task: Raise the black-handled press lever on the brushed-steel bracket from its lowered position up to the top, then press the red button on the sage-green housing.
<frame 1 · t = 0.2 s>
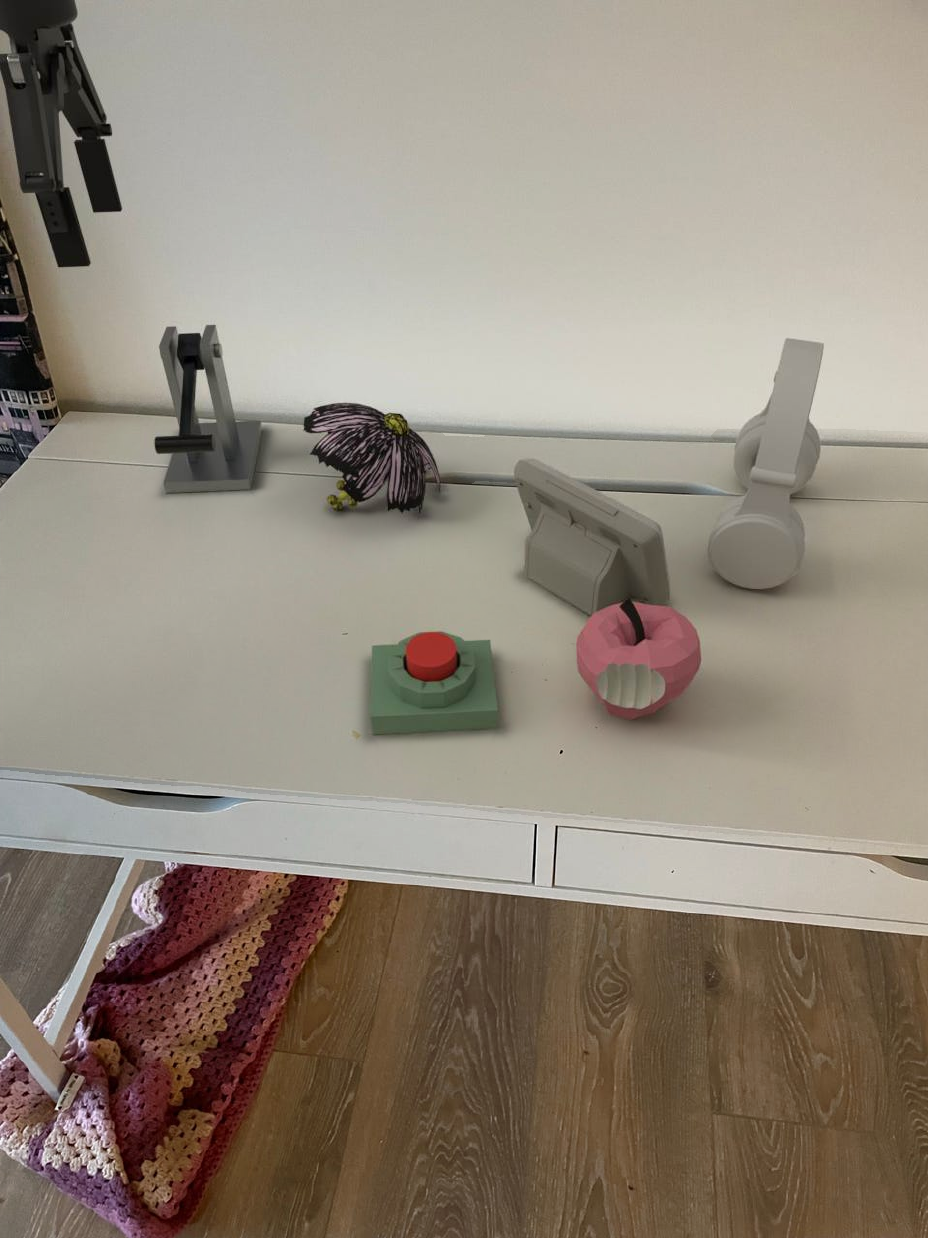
hand: (92, 236, 89), 24 cm above the table, tool pointing down, fingers open, 13 cm apart
button box: (433, 694, 78), on the table
button: (431, 656, 75), point 4 cm above the table, slide at 0.1 cm
digital clock: (587, 579, 89), on the table
decorative flower: (377, 501, 98), on the table
lever: (188, 394, 93), point 11 cm above the table, hinge at -25.0°
apple: (629, 704, 77), on the table
bracket: (216, 460, 104), on the table
headphones: (757, 531, 93), on the table
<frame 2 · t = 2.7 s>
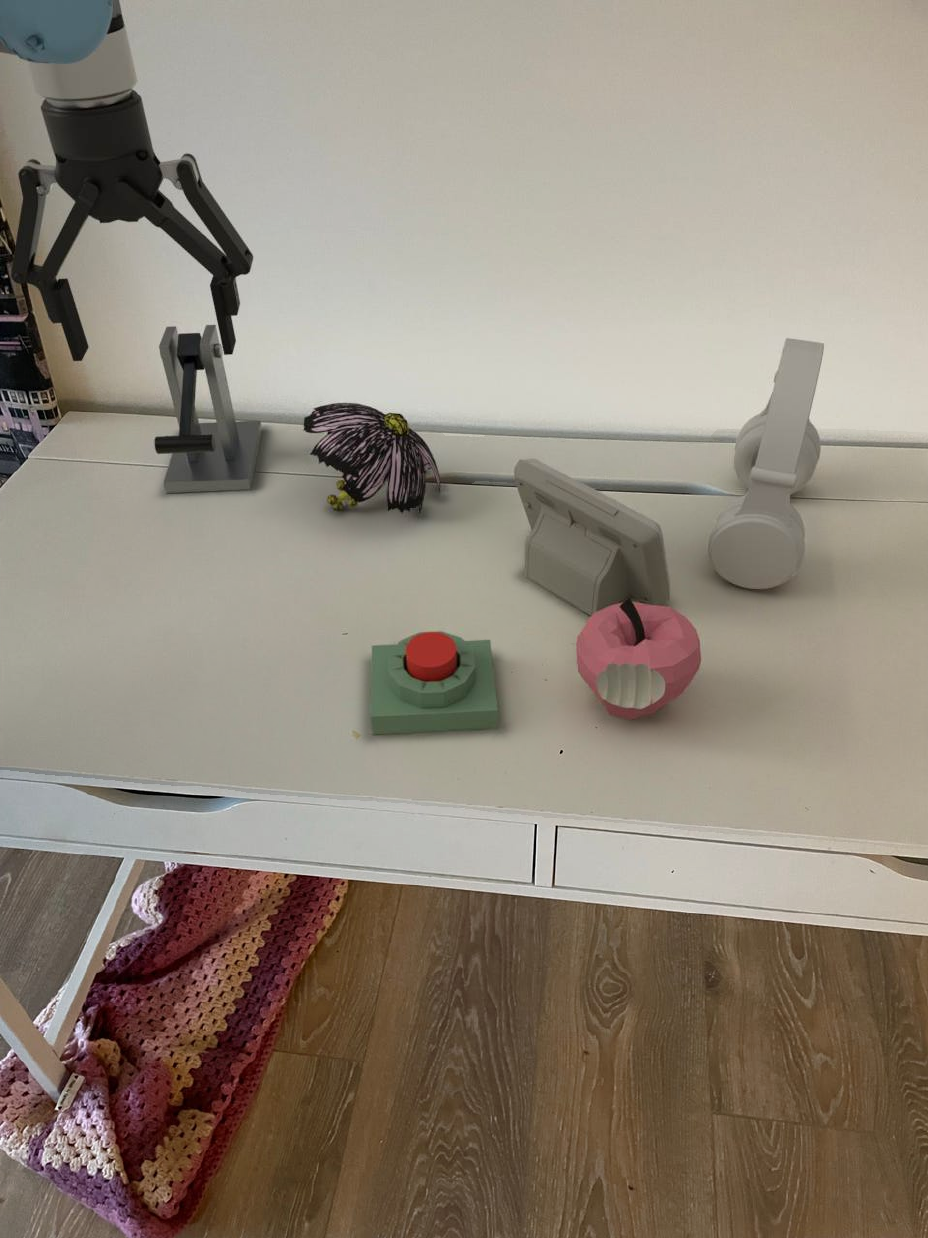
hand: (155, 351, 86), 17 cm above the table, tool pointing down, fingers open, 13 cm apart
nothing on the table moved.
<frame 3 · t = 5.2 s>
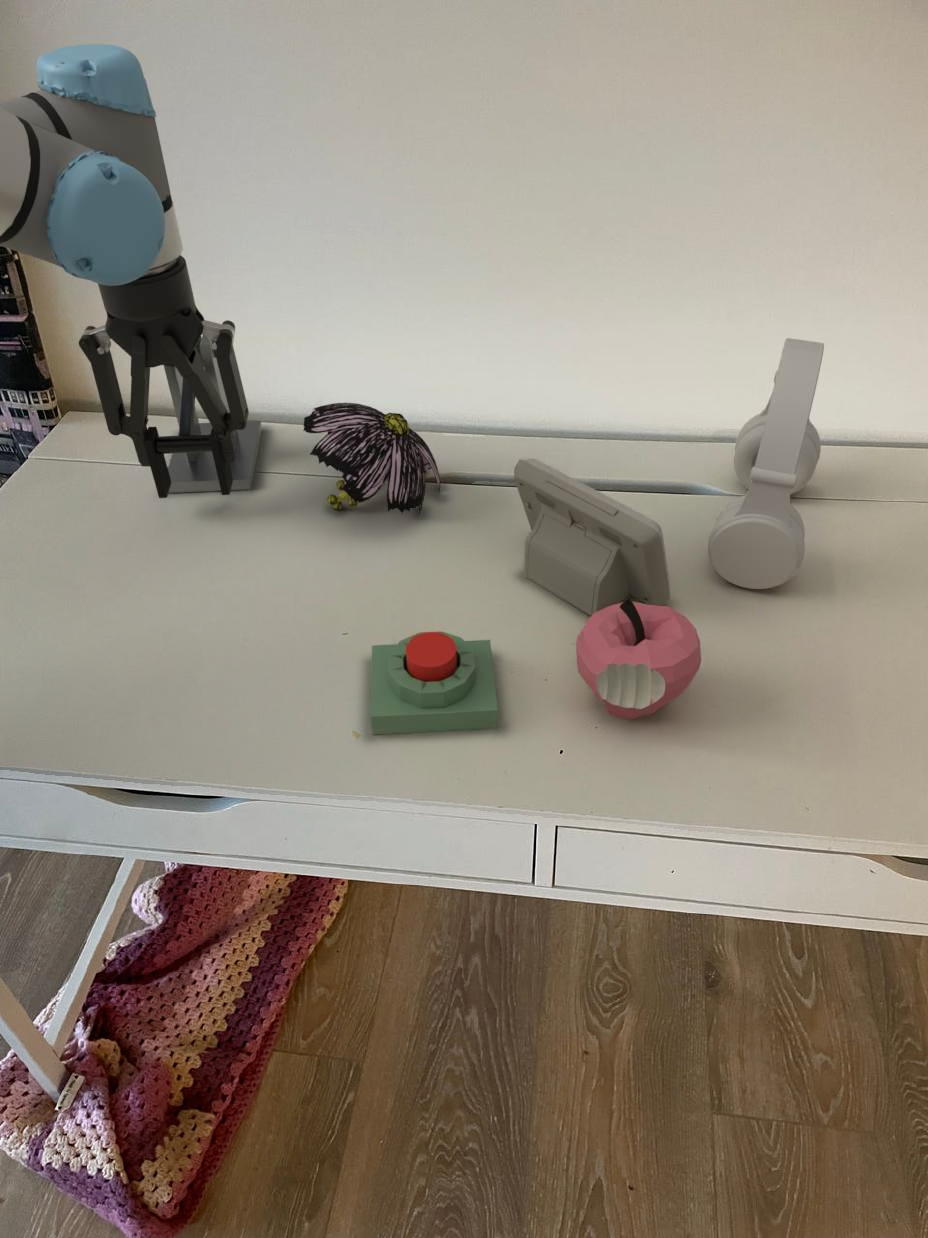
hand: (196, 488, 95), 3 cm above the table, tool pointing down, fingers closed on lever, 5 cm apart
lever: (188, 394, 93), point 11 cm above the table, hinge at -25.0°, touching gripper
everything else where it was.
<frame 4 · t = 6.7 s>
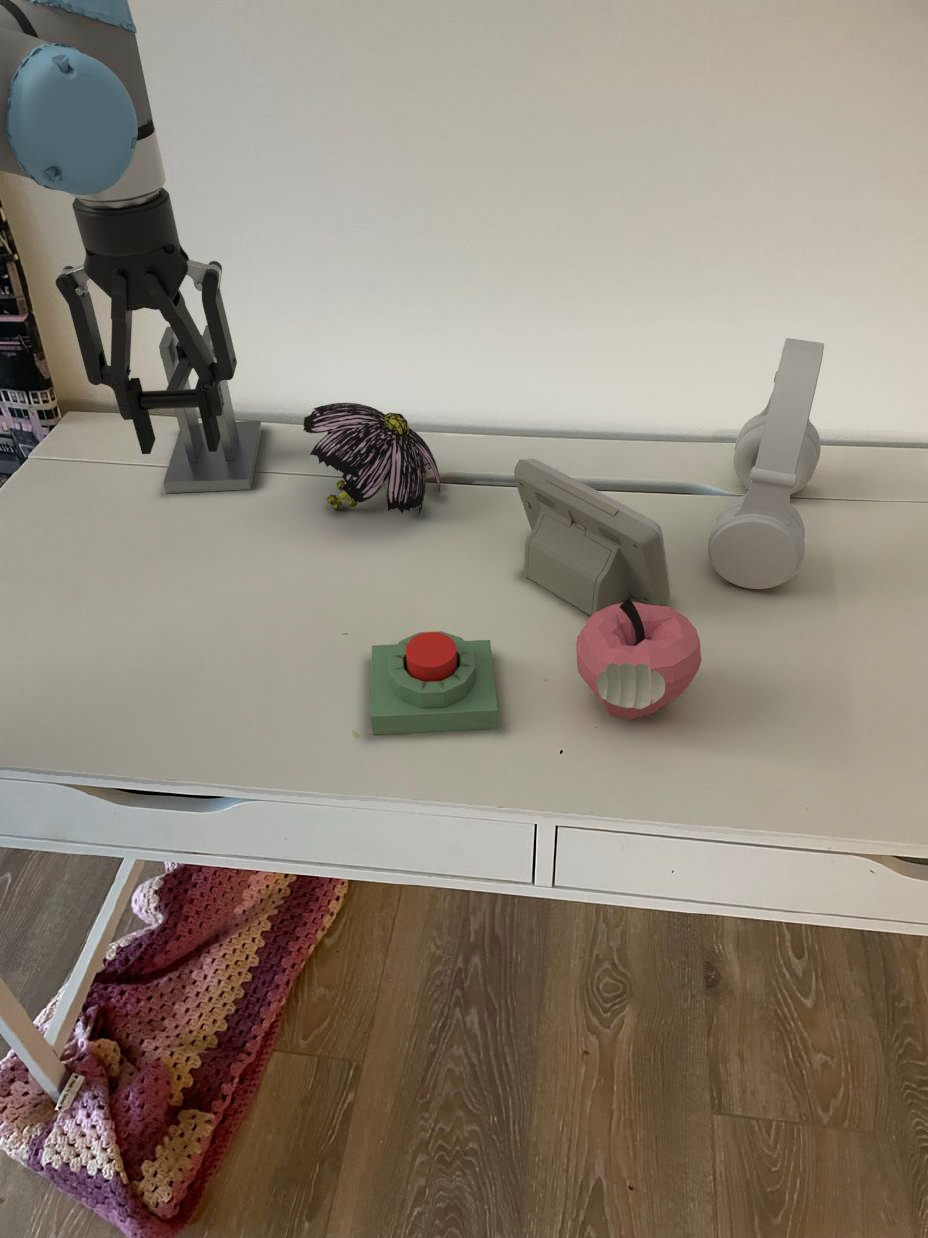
hand: (181, 444, 90), 9 cm above the table, tool pointing down, fingers closed on lever, 5 cm apart
lever: (182, 373, 91), point 13 cm above the table, hinge at 4.2°, touching gripper
everything else where it was.
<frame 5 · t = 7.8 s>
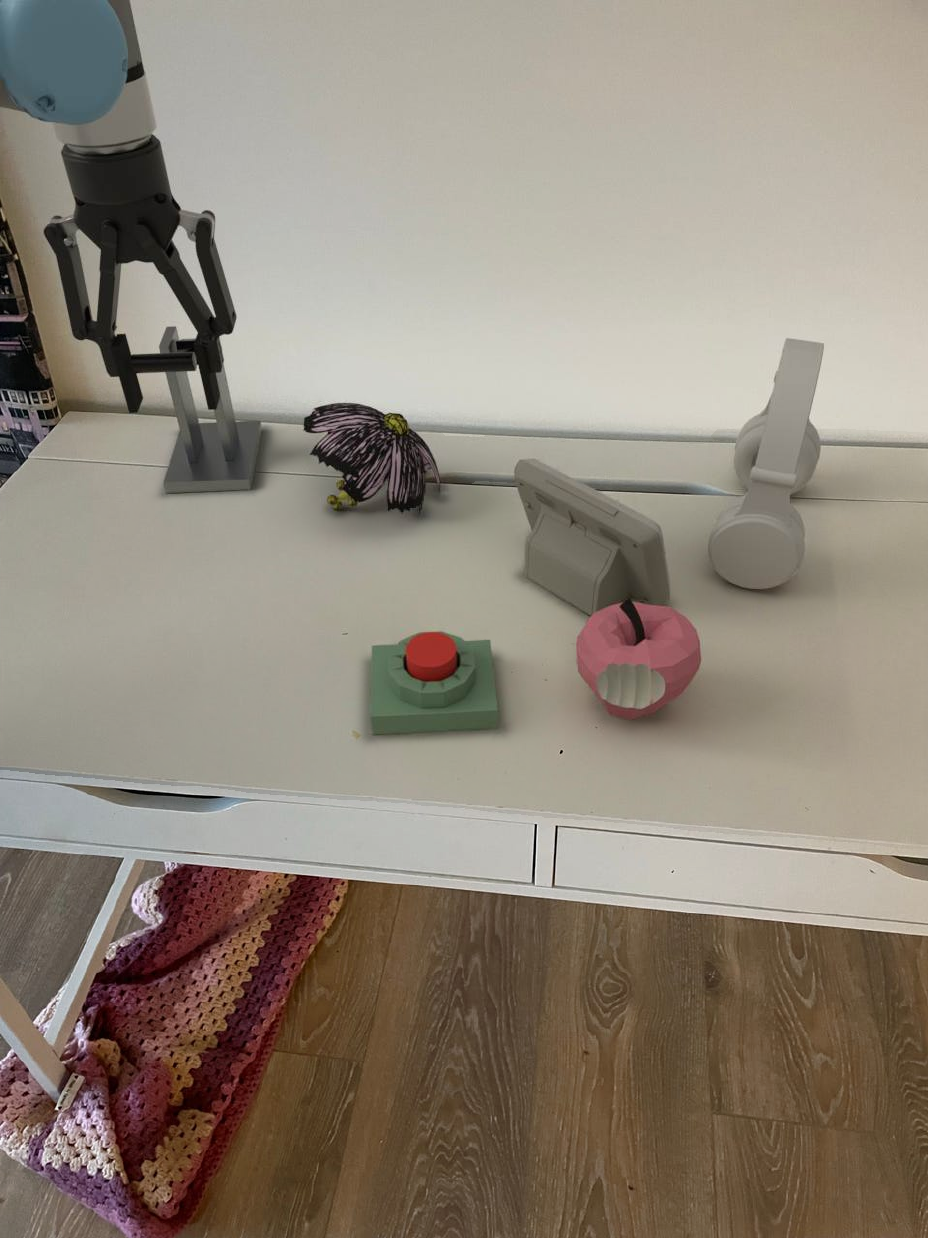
hand: (175, 403, 88), 13 cm above the table, tool pointing down, fingers open, 7 cm apart
lever: (179, 356, 90), point 15 cm above the table, hinge at 21.7°
everything else where it was.
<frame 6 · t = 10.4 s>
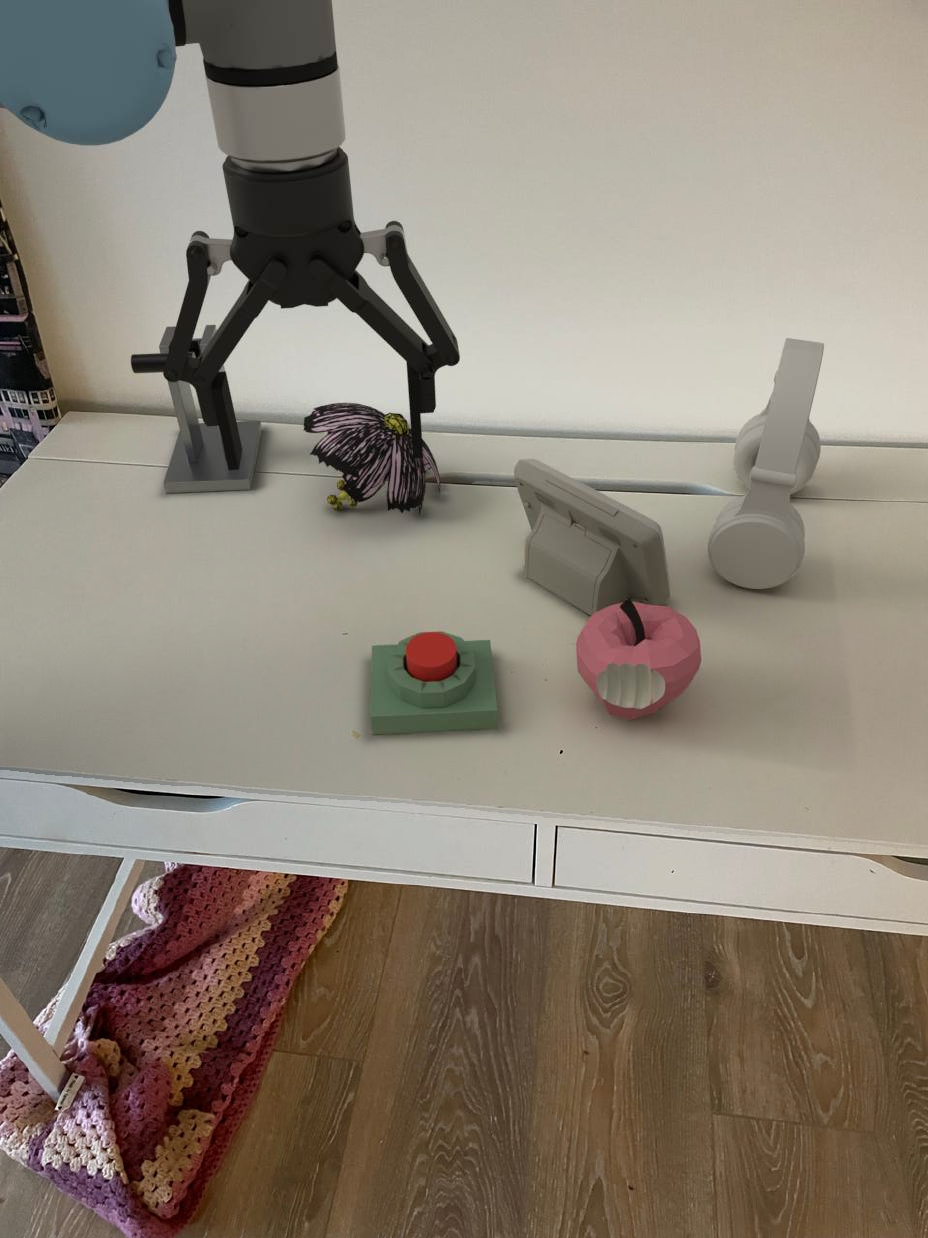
hand: (327, 454, 70), 19 cm above the table, tool pointing down, fingers open, 13 cm apart
nothing on the table moved.
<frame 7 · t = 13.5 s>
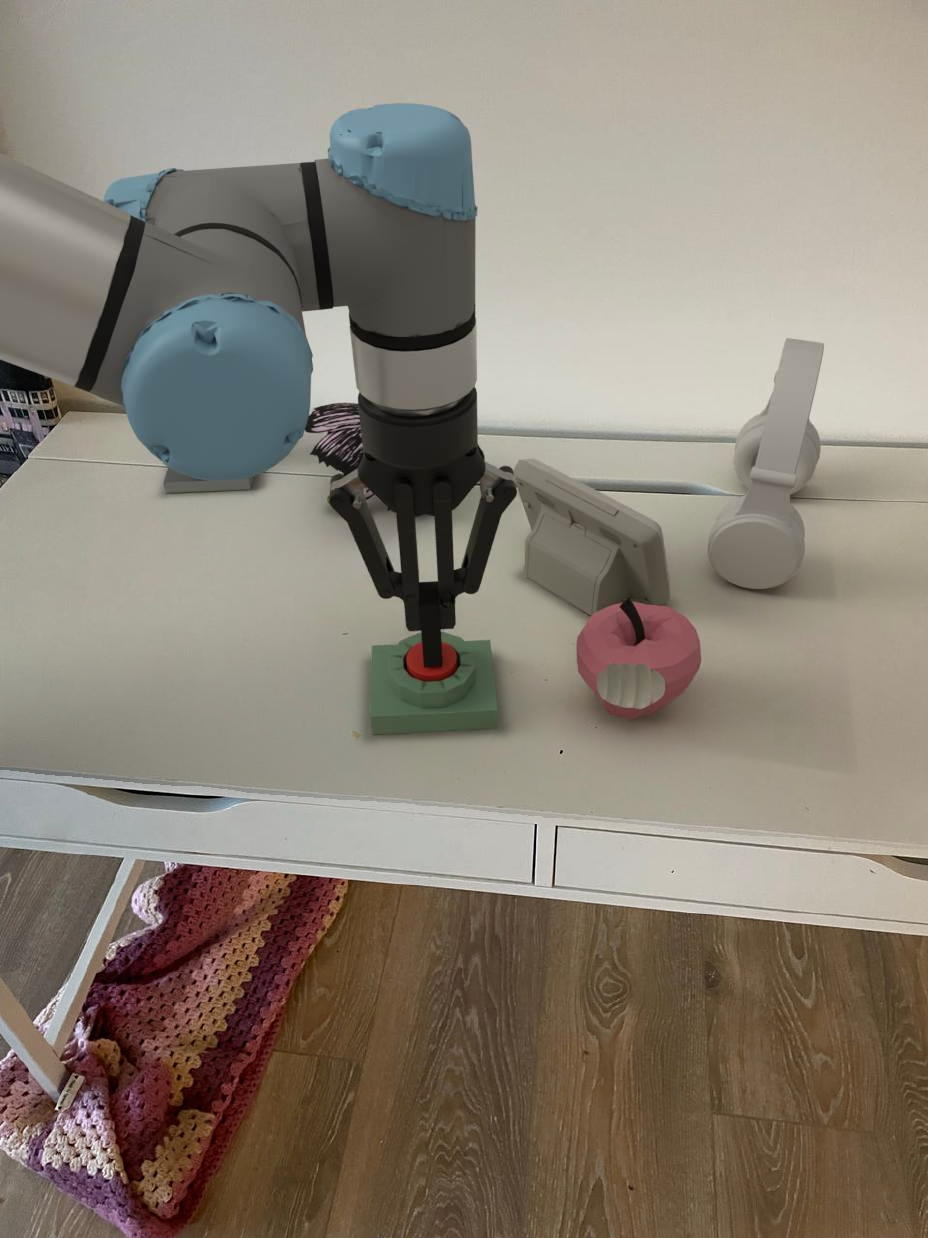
hand: (432, 654, 74), 5 cm above the table, tool pointing down, fingers closed
button: (431, 664, 75), point 4 cm above the table, slide at -0.8 cm, touching gripper
everything else where it was.
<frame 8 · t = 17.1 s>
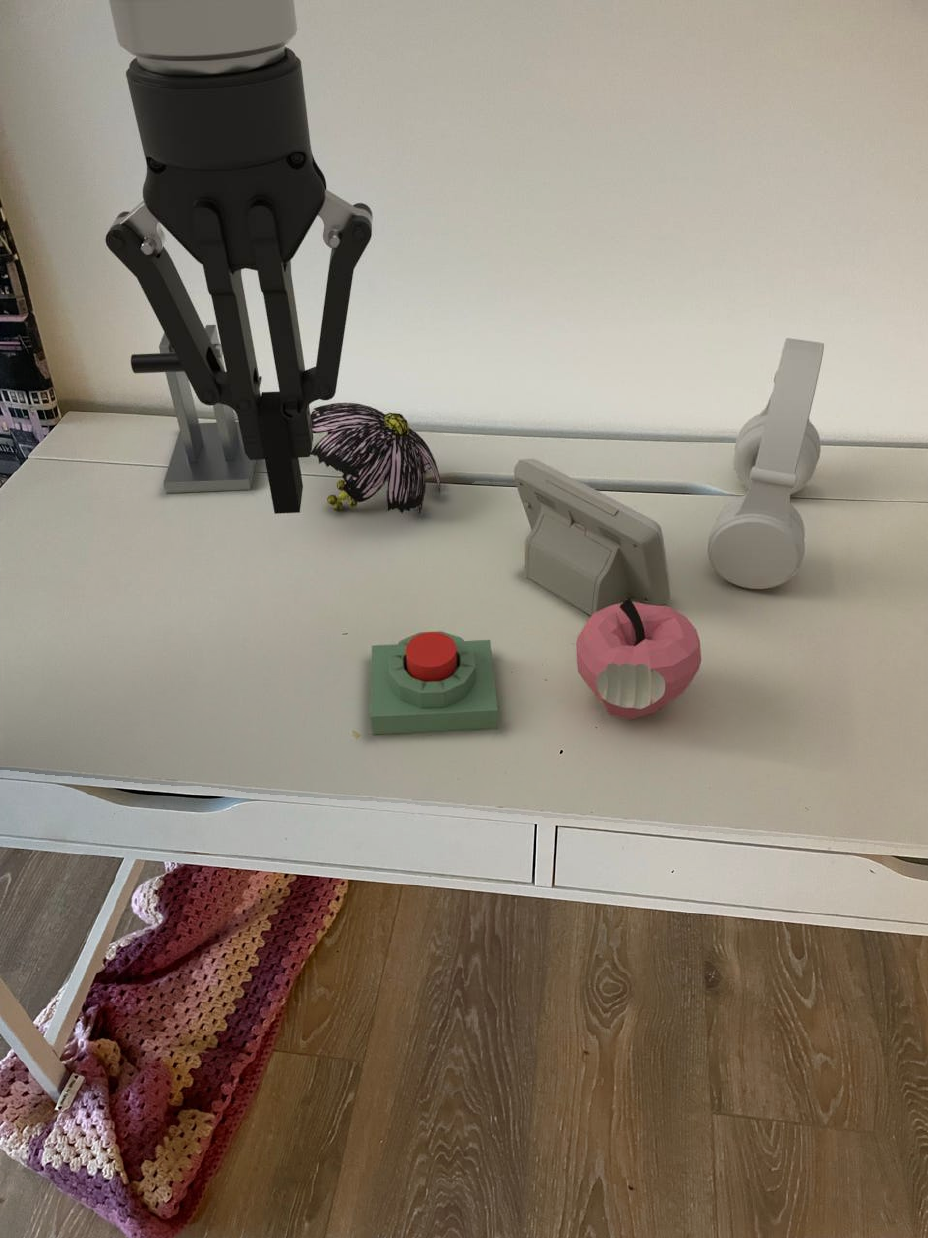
hand: (289, 499, 56), 24 cm above the table, tool pointing down, fingers closed
button: (431, 656, 75), point 4 cm above the table, slide at 0.1 cm
everything else where it was.
at the end: lever at +22° (first picture: -25°); button pushed in 1.0 cm at the most during the clip, back to where it started at the end; button slide at 0.1 cm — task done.
